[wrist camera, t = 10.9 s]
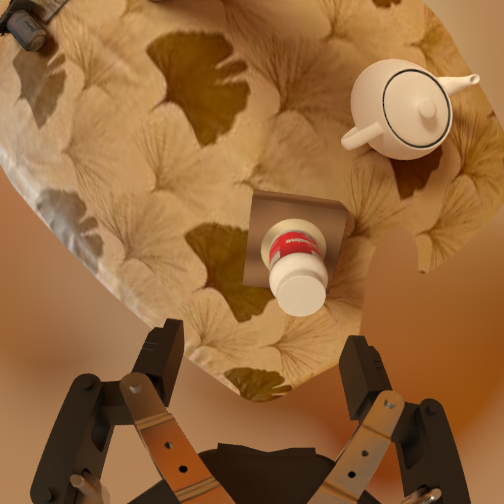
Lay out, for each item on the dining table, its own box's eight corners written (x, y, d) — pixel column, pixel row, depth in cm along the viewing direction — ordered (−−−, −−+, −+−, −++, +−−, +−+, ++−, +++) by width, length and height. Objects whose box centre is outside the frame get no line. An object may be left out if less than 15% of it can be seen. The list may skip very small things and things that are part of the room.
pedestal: (253, 189, 40) (252, 199, 36) (339, 201, 40) (348, 212, 36) (245, 268, 45) (242, 285, 41) (322, 276, 45) (328, 294, 41)
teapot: (356, 185, 39) (383, 206, 30) (304, 99, 35) (318, 91, 25) (465, 120, 34) (509, 126, 24) (424, 40, 29) (464, 25, 19)
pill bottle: (326, 240, 37) (346, 285, 27) (302, 278, 40) (312, 331, 30) (283, 218, 36) (289, 258, 26) (260, 259, 39) (258, 308, 29)
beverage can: (16, 32, 29) (42, 59, 33) (-13, 36, 23) (10, 64, 27) (38, -7, 25) (67, 17, 29) (8, -8, 19) (35, 16, 23)
